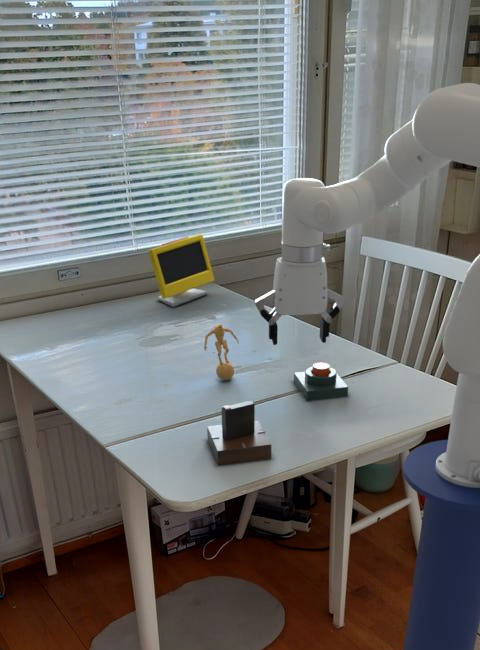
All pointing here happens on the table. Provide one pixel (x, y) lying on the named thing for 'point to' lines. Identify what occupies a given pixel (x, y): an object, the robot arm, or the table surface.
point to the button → (321, 369)
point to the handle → (238, 420)
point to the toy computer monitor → (181, 269)
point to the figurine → (224, 368)
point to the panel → (239, 446)
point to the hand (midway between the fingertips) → (298, 341)
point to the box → (320, 385)
